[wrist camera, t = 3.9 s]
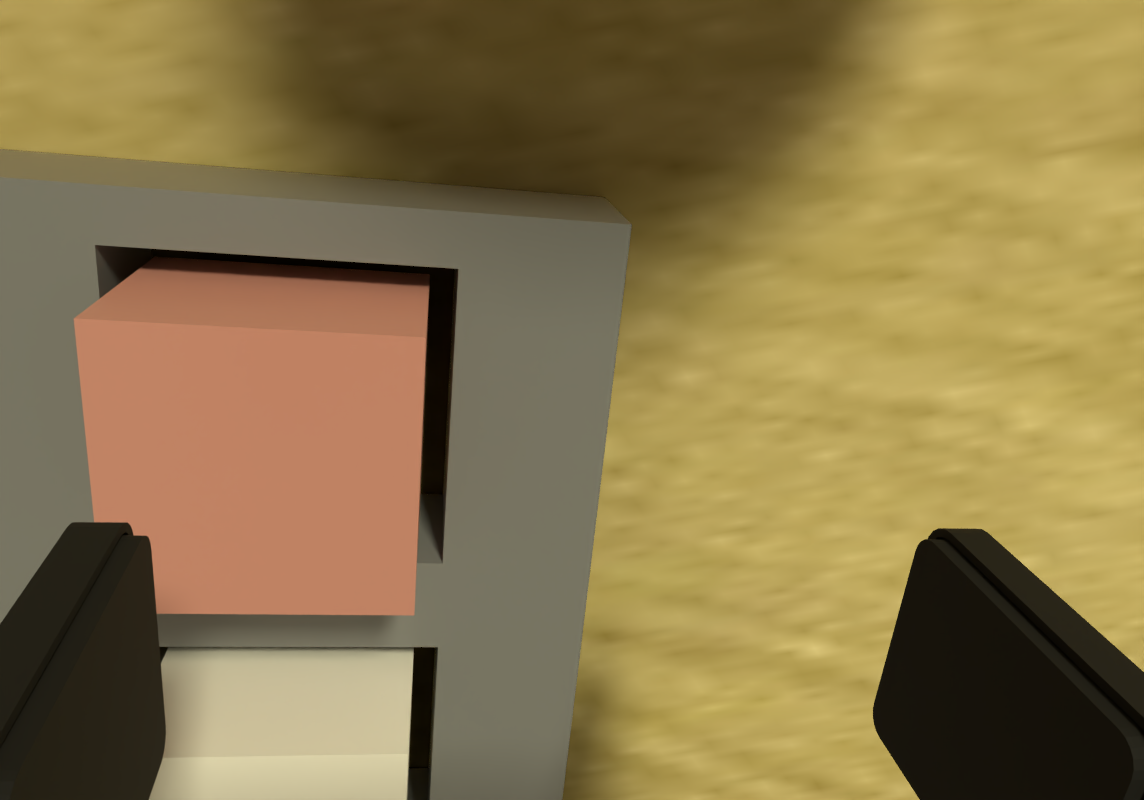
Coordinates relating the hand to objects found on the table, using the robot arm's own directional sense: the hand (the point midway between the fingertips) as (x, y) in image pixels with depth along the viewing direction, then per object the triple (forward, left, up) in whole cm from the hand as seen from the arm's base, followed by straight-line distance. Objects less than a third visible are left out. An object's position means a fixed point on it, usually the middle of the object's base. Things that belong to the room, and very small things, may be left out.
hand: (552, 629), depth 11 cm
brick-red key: (+4, 0, -8) cm, 9 cm away
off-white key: (+4, +8, -8) cm, 12 cm away
